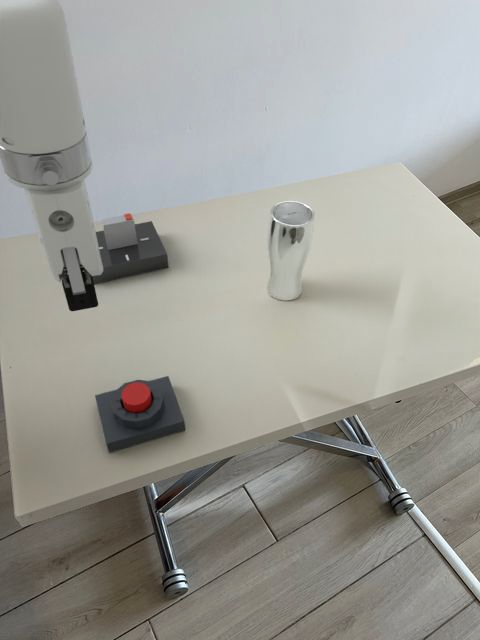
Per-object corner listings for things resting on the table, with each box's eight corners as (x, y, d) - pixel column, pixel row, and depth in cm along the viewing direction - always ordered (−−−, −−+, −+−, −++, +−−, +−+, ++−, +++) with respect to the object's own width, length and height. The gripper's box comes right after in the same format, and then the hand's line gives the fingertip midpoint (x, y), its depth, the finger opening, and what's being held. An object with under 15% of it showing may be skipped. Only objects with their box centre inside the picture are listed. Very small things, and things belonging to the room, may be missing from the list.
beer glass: (258, 296, 88) (262, 220, 77) (271, 271, 92) (277, 195, 81) (298, 307, 87) (309, 231, 76) (309, 281, 91) (321, 205, 80)
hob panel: (92, 284, 88) (88, 269, 86) (81, 249, 94) (77, 234, 92) (168, 267, 92) (167, 253, 89) (153, 234, 98) (151, 220, 95)
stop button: (126, 416, 67) (124, 408, 66) (120, 394, 69) (118, 386, 68) (154, 408, 68) (153, 400, 67) (148, 387, 70) (146, 379, 69)
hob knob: (108, 250, 89) (102, 224, 85) (106, 244, 90) (100, 218, 86) (137, 244, 91) (133, 218, 87) (135, 238, 92) (131, 212, 88)
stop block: (109, 453, 67) (103, 436, 64) (97, 404, 72) (92, 386, 69) (185, 430, 70) (183, 413, 67) (169, 385, 75) (167, 367, 72)
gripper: (103, 192, 43) (129, 343, 57) (78, 112, 53) (105, 259, 66) (5, 205, 41) (56, 359, 55) (-4, 119, 50) (42, 269, 64)
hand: (83, 304), depth 61 cm, fingers closed
